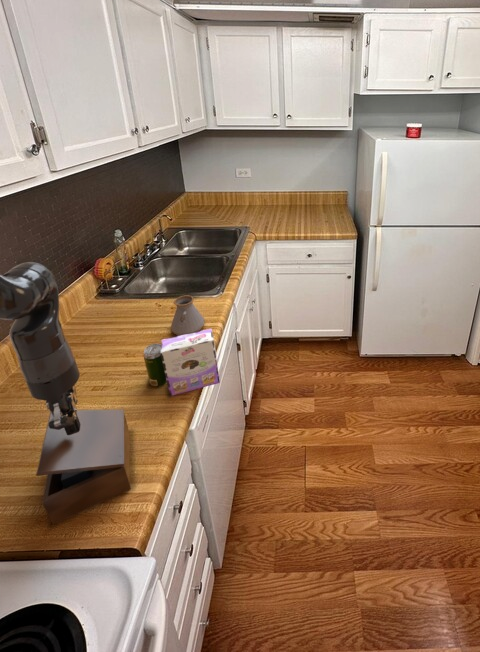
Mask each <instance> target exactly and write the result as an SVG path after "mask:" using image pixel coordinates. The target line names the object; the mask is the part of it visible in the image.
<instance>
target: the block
mask: <svg viewBox="0 0 480 652" xmlns="http://www.w3.org/2000/svg"><path fill="white" fill-rule="evenodd" d="M89 478H92V470H88V471H79V472H69V473H62V477H61V482H62V484H63V487H64V489H66V488H68V487H71V486H73V485H75V484H78V483H80V482H82V481H85V480H87V479H89Z"/></svg>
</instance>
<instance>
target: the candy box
mask: <svg viewBox="0 0 480 652" xmlns="http://www.w3.org/2000/svg"><path fill="white" fill-rule="evenodd" d="M214 339H215V338H214V333H213V329H212V328H208V329H204V330H200V331H199V332H195V333H190V334H186V335H181V336H178V335H176V336H173V337H168V338H164V339H163V338H162V339H161V343H160V344H161V357H162V362H163V366H164V371H165V375H166V380H167V382H166V384H167V388H168V394H169V396H170V397H171V396H175V395H176V396H177V395H180V394H184V393H187V392H191V391H195V390H199V389H203V388H206V387H209V386H214V385H218V384H220V381H221V380H220V373H219V366H218V365H219V364H218V359H217V350H216V344H215V340H214Z"/></svg>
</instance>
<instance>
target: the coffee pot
mask: <svg viewBox="0 0 480 652" xmlns="http://www.w3.org/2000/svg"><path fill="white" fill-rule="evenodd" d="M194 300H195V299H194V296H193V295H190V294H186V295H181V296H179V297H176V299H175V300H174V301H173V304H174V305H175V306H176V309H175V312H174V315H173V318H172V321H171V325H170V330H171V331H172V333H173V334H174V335H176V336H181V335H186V334H190V333H195V332H199V331H202V329H203V326H204V325H205V317H204V316H203V315H202V314H201V312H200V311H199V309H198V308H197V306H195V304H194Z"/></svg>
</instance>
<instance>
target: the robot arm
mask: <svg viewBox="0 0 480 652" xmlns="http://www.w3.org/2000/svg"><path fill="white" fill-rule="evenodd" d="M0 320H4V321H5V320H6V321H14V322H12V325H11V327H10V329H9V332H8V333H9V339H10V343H11V345H12V347H13V350H14V351H15V354H16V357H17V360H18V364H19V368H20V371H21V374H22V377H23V379H24V381H25V383H26V385H27V389H28V390H29V393H30V395H31V397H32V398H34V400H35V399H36V400H39V401H45V406H46V408H47V410H49V411H50V412H51V413H52V415H53V417H54V419H51V421H50V422H49V428H50V429H56V430H60V429H62V428H64V429H65V431H66V434H67V435H72V434H74V433H77V432H79V431H80V425H81V424H80V421H79V419H78V416H77V410H78V408H77V405H78V397H77V391H76V384H77V383H78V381H79V380H80V376H81V375H80V370H79V367H78V365H77V362H76V361H77V360H76V359H75V355H74V352H73V350H72V347H71V344H70V342H69V341H68V340H67V337H66V335H65V332H64V328H63V326H62V323H61V321H60V297H59V287H58V282H57V279H56V277H55V275H54V274H53V272H52V271H51V270H50V269H49V268H48V267H47V266H45V265H43V264H41V263H38V262H35V261H34V262H33V261H27V262H22V263H20V264H17V265H14V266H13V267H12V268H11V269H9V270H8V271H6V272H5V273H3V274H0Z"/></svg>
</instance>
